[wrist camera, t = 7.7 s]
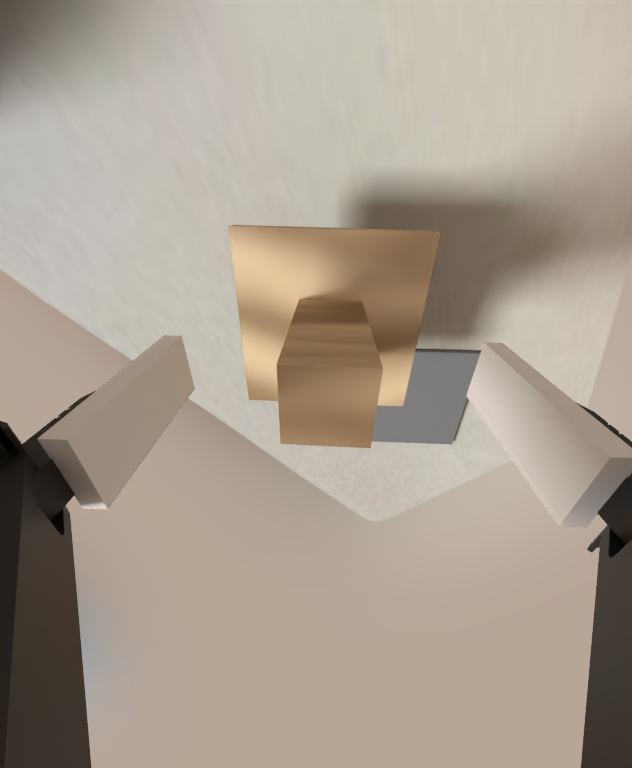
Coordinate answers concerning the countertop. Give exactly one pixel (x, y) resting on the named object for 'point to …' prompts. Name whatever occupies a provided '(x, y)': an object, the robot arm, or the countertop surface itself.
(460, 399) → the mat
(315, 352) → the wooden plaque with block
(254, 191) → the countertop surface
